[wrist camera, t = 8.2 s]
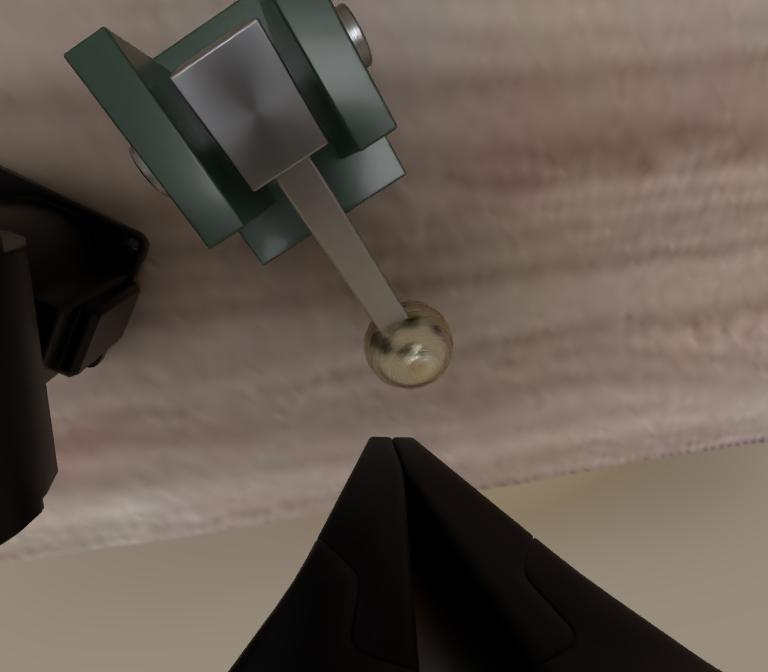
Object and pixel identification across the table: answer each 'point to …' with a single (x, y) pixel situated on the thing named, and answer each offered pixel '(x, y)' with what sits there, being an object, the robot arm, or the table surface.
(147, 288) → the table surface
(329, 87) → the bracket
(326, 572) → the robot arm
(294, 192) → the handle lever
